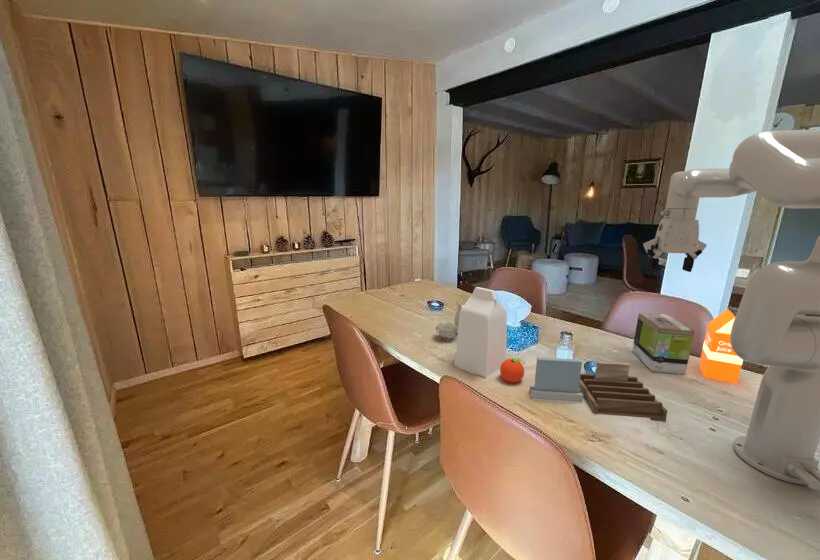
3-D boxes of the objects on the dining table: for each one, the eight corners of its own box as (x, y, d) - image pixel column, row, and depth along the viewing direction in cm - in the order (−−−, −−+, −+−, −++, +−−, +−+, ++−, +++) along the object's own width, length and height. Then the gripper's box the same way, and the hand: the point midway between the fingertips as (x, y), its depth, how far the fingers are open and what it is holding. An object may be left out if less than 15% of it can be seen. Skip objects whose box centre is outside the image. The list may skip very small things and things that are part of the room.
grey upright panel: (577, 399, 93) (582, 362, 90) (534, 396, 94) (538, 359, 92) (575, 396, 94) (580, 359, 92) (533, 393, 96) (537, 357, 93)
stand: (583, 405, 91) (584, 396, 91) (532, 401, 93) (532, 393, 92) (576, 394, 96) (578, 386, 95) (528, 391, 98) (529, 383, 97)
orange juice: (729, 371, 109) (744, 310, 104) (737, 384, 101) (754, 319, 96) (698, 365, 112) (710, 306, 108) (703, 377, 105) (717, 314, 100)
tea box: (687, 375, 106) (696, 330, 103) (650, 372, 108) (658, 327, 105) (662, 353, 121) (670, 313, 117) (631, 351, 123) (637, 311, 119)
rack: (665, 420, 85) (671, 388, 83) (593, 415, 87) (598, 384, 85) (637, 389, 98) (642, 361, 96) (575, 385, 101) (579, 358, 98)
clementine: (516, 372, 108) (518, 351, 106) (531, 383, 102) (533, 361, 100) (494, 377, 105) (496, 356, 104) (508, 389, 99) (510, 366, 97)
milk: (454, 365, 113) (457, 288, 106) (475, 354, 120) (478, 282, 114) (486, 379, 104) (490, 296, 98) (506, 366, 112) (511, 289, 106)
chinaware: (432, 347, 130) (432, 307, 124) (439, 327, 145) (439, 290, 140) (509, 355, 124) (513, 312, 118) (508, 332, 139) (511, 294, 133)
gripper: (656, 215, 101) (646, 272, 105) (721, 215, 99) (708, 273, 103) (642, 213, 108) (633, 267, 112) (702, 214, 106) (691, 268, 110)
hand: (669, 270), depth 107 cm, fingers open, 9 cm apart
